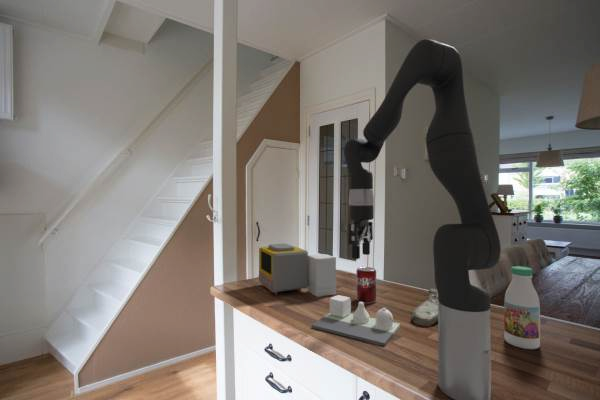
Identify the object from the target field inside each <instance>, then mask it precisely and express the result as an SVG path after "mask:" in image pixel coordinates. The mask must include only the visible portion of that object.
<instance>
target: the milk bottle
mask: <svg viewBox="0 0 600 400" xmlns="http://www.w3.org/2000/svg"><path fill="white" fill-rule="evenodd" d="M510 273H511V276H512V277H511V282H510V283H509V285H508V287H507V289H506V291H505V294H504V301H503V302H504V306H503V307H504V308H503V309H504V310H503V311H504V312H503V313H504V314H503V316H504V317H503V318H504V319H503V320H504V321H503V324H504V325H503V326H504V327H503V329H504V331H503V334H504V335H503V337H504V340H505V342H506V343H507V344H510V345H512V346H513V347H515V348H516V347H517V348H521V349H525V350H536V349H539V347H540V346H541V307H540V305H541V303H540V299H539V295H538V292H537V291H536V289H535V287H534V284H533V282H532V281H533V280H532V278H533V269H532V268H530V267H527V266H521V265H518V266H516V265H515V266H511V268H510Z"/></svg>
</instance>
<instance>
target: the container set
mask: <svg viewBox="0 0 600 400" xmlns="http://www.w3.org/2000/svg"><path fill="white" fill-rule="evenodd" d="M357 304H358V306H357V307H356V309H355V311H354V312H353V313H352V314H353V321H354V322H357V323H368V322H369V317H370V314H369V313H368V311H367V310H366V308H365V303H363V302H359V301H358V303H357ZM351 311H352V299H351V297H349V296H346V295H345V296H344V295H339V294H337V295H336V294H335V296H332V297H330V298H329V313H330V314H332V315H335V316H339V317H345V316H347V315H348V314H350V313H351ZM375 318H376V323H375V327H377V328H378V329H382V330H391V329H393V327H394V325H393V322H394V316H393V314H392V312H391V311H390V310H389V309H387V308H386V307H382V308H380V309H379V310H377V312H376V314H375Z"/></svg>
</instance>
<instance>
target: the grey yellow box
mask: <svg viewBox="0 0 600 400" xmlns="http://www.w3.org/2000/svg"><path fill="white" fill-rule="evenodd" d="M308 255H309V253H308V250H307V249H306V250H305V249H303V248H301V247H298V246H294V245H291V244H288V243H273V244H272V243H271V244H268V246H260V247H259V248H258V282H259V283H260V284H261V285H263V286H264V288H266V289H268V290H269V291H270V292H271V293H274V295H276V296H277V295H278V293H279V292H280V293H281V292H286V291H287V292H288V291H294V290H295V291H296V290H297V291H298V292H302V290H303V289H308Z"/></svg>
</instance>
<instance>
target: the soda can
mask: <svg viewBox="0 0 600 400" xmlns="http://www.w3.org/2000/svg"><path fill="white" fill-rule="evenodd" d="M355 278H356V300H357V301H358V303H359V302H363V303H364V304H367V305H368V304H370V305H371V304H375V303H376V301H377V270H376V268H374V267H370V266H363V267H362V266H360V267H358V268H357V269H356V277H355Z"/></svg>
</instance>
